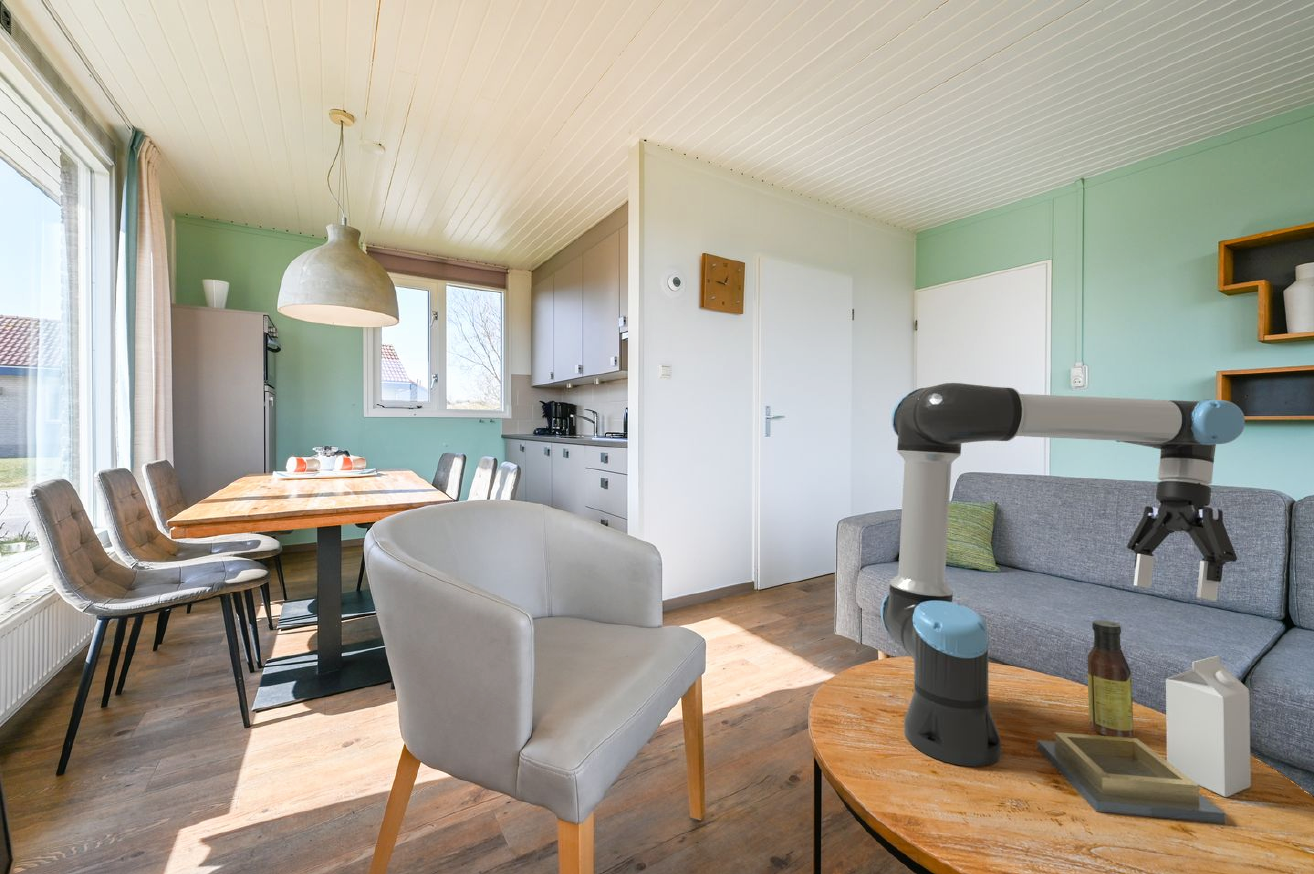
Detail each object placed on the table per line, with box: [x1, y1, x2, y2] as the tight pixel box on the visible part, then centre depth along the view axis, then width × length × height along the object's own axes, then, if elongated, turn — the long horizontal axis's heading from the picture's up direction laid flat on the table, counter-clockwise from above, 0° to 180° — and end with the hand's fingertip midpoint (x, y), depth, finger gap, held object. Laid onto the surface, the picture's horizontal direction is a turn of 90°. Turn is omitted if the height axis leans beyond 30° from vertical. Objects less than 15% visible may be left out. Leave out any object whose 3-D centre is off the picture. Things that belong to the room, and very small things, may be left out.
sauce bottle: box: [1086, 619, 1135, 738], centre depth 99 cm, size 7×6×20 cm
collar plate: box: [1036, 731, 1226, 825], centre depth 84 cm, size 16×16×4 cm
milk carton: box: [1165, 655, 1252, 798], centre depth 85 cm, size 7×7×19 cm
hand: (1172, 592), depth 102 cm, fingers open, 13 cm apart
